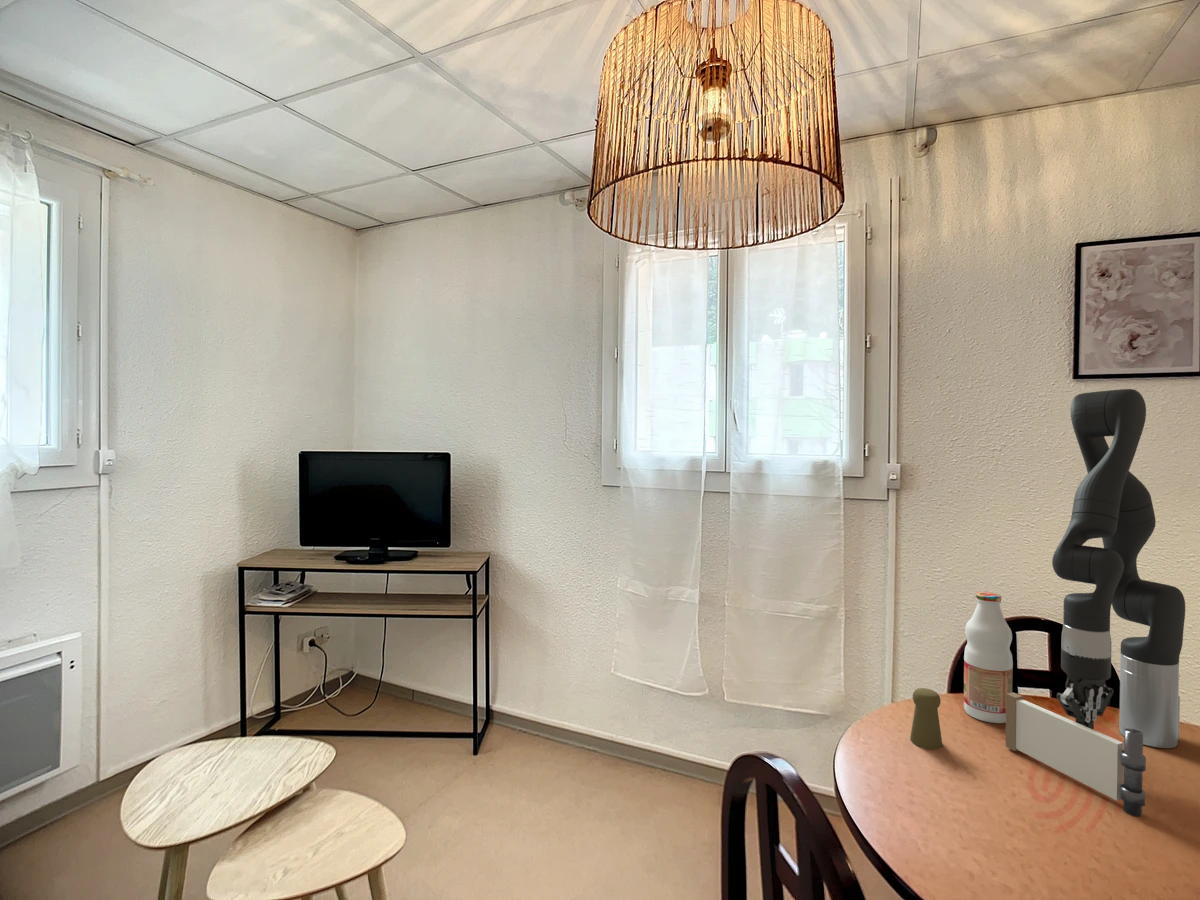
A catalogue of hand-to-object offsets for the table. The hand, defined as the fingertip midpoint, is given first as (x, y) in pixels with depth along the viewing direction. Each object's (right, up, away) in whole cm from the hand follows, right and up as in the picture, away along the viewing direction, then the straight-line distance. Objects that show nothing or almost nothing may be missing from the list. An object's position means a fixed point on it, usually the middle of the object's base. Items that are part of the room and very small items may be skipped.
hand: (1084, 738), depth 118 cm
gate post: (-2, -7, -13) cm, 15 cm away
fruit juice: (-4, -6, +23) cm, 24 cm away
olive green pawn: (-25, -6, +11) cm, 28 cm away
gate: (-6, -6, -1) cm, 8 cm away
